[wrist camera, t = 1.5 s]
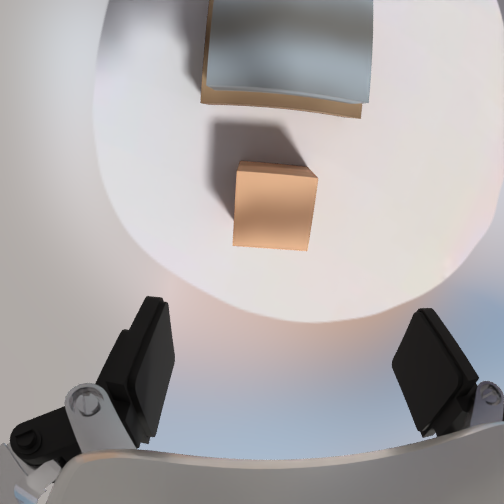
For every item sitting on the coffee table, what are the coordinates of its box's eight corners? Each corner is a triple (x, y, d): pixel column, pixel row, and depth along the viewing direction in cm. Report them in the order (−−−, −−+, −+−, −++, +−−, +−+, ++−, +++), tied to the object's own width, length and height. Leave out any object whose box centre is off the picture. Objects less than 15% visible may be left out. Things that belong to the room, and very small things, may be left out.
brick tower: (218, -14, 18) (205, -54, 11) (352, 1, 18) (385, -31, 11) (208, 104, 23) (189, 100, 16) (345, 117, 23) (381, 120, 16)
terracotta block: (240, 160, 26) (236, 170, 21) (307, 166, 26) (318, 178, 21) (236, 223, 28) (232, 245, 24) (299, 228, 28) (307, 251, 24)
